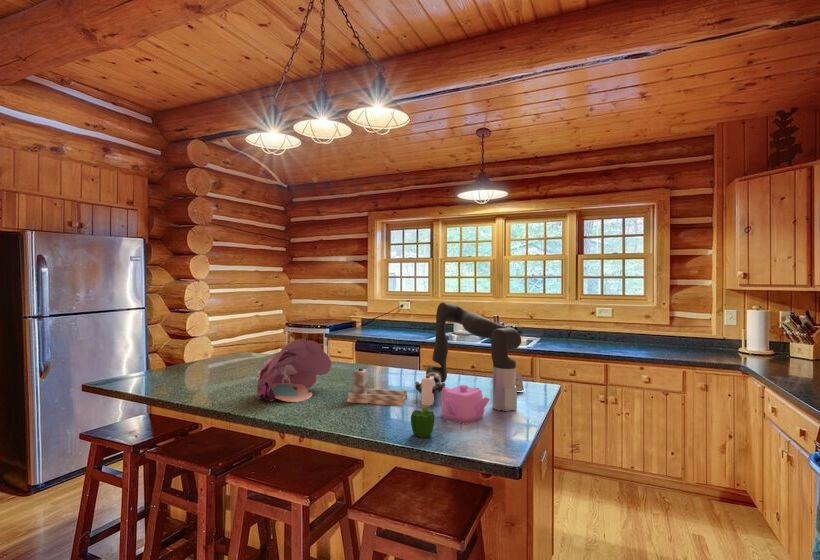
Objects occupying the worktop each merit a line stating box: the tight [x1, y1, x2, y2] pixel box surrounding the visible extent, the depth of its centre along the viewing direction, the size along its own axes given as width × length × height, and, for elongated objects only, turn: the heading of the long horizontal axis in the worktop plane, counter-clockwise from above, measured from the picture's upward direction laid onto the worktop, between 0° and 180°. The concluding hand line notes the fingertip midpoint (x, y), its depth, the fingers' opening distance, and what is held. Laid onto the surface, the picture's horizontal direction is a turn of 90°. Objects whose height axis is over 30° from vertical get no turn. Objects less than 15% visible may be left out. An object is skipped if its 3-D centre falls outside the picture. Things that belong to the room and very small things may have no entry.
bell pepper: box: [410, 405, 435, 438], centre depth 146 cm, size 8×8×10 cm
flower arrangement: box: [256, 338, 332, 403], centre depth 192 cm, size 35×24×28 cm
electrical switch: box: [516, 371, 525, 391], centre depth 205 cm, size 9×5×9 cm, turn 116°
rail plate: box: [346, 367, 408, 407], centre depth 188 cm, size 24×12×14 cm, turn 80°
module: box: [420, 374, 435, 406], centre depth 184 cm, size 4×6×12 cm
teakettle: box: [440, 384, 490, 425], centre depth 166 cm, size 17×17×12 cm
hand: (426, 390), depth 182 cm, fingers closed on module, 4 cm apart
